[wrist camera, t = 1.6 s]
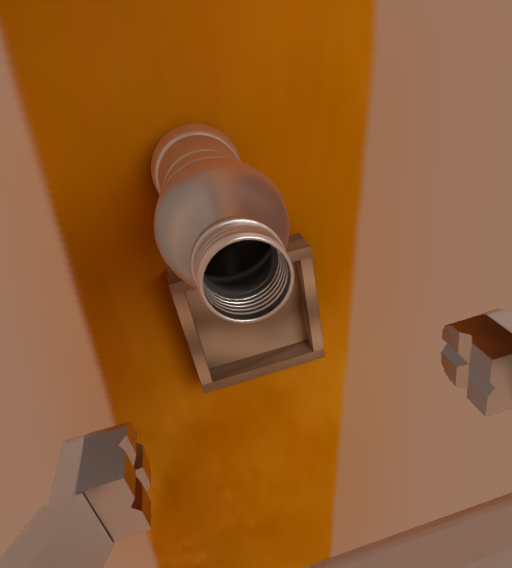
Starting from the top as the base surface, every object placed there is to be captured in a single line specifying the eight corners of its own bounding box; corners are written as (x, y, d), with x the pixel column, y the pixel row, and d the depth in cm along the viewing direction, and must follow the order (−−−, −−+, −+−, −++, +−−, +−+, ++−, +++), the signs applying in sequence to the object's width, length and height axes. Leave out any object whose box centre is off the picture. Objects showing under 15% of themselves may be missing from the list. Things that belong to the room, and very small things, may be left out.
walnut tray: (166, 268, 36) (168, 285, 34) (299, 233, 37) (310, 246, 35) (200, 372, 42) (204, 393, 40) (314, 338, 43) (324, 356, 41)
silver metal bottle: (192, 221, 35) (238, 382, 18) (131, 157, 31) (113, 279, 14) (252, 169, 34) (362, 285, 17) (195, 98, 30) (261, 151, 13)
